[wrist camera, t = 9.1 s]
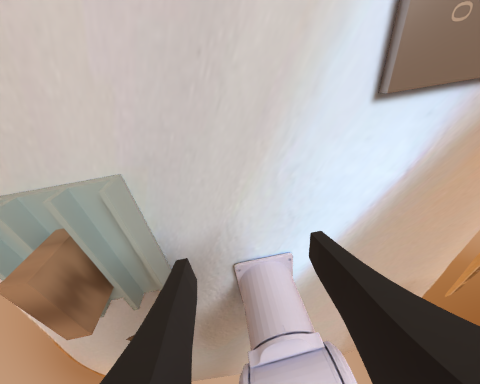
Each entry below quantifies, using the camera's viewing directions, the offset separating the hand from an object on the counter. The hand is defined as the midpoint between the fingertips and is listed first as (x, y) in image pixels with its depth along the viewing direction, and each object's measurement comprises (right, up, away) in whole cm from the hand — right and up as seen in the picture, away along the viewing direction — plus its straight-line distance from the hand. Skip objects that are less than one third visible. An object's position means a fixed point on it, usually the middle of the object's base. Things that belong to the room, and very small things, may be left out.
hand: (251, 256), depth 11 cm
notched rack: (-17, -3, +10) cm, 20 cm away
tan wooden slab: (-17, -3, +9) cm, 19 cm away
